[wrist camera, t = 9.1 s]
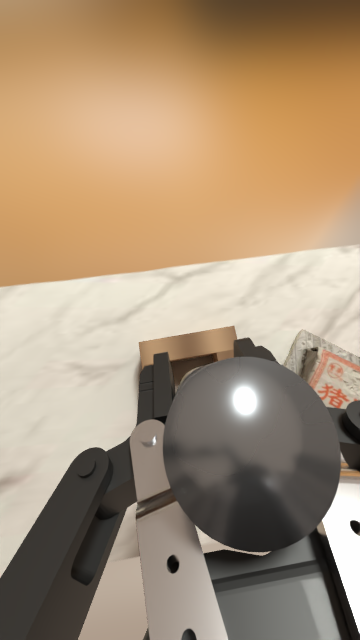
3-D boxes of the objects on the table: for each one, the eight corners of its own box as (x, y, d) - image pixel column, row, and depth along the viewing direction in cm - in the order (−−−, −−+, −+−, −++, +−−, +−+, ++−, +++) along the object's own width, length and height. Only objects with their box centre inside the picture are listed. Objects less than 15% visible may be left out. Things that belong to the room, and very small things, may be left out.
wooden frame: (157, 436, 27) (152, 448, 23) (144, 346, 29) (138, 342, 25) (247, 420, 27) (257, 428, 23) (227, 331, 29) (234, 325, 25)
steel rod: (182, 420, 16) (178, 569, 4) (174, 371, 16) (151, 371, 5) (230, 412, 16) (368, 532, 4) (220, 363, 16) (309, 343, 5)
